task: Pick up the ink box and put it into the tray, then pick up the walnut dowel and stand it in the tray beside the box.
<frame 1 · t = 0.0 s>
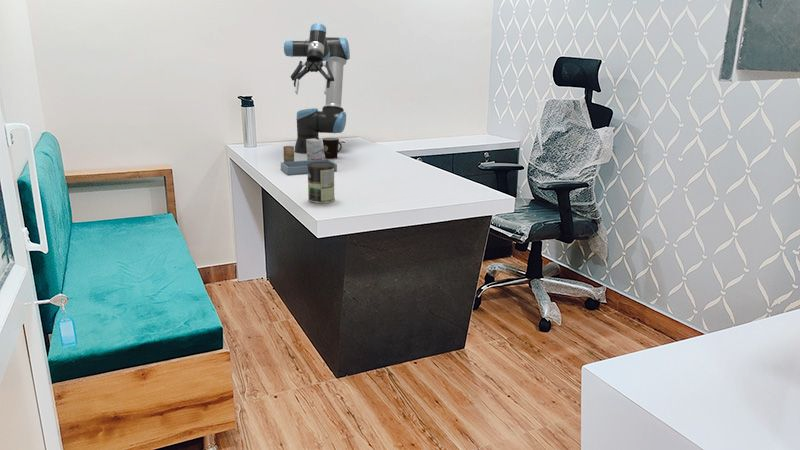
hand: (310, 93, 275), 36 cm above the table, tool tilted 35°, fingers open, 13 cm apart
coffee can: (321, 200, 231), on the table
coffee mug: (331, 158, 313), on the table
tray: (308, 170, 283), on the table
ink box: (314, 163, 301), on the table
walnut dowel: (289, 164, 296), on the table
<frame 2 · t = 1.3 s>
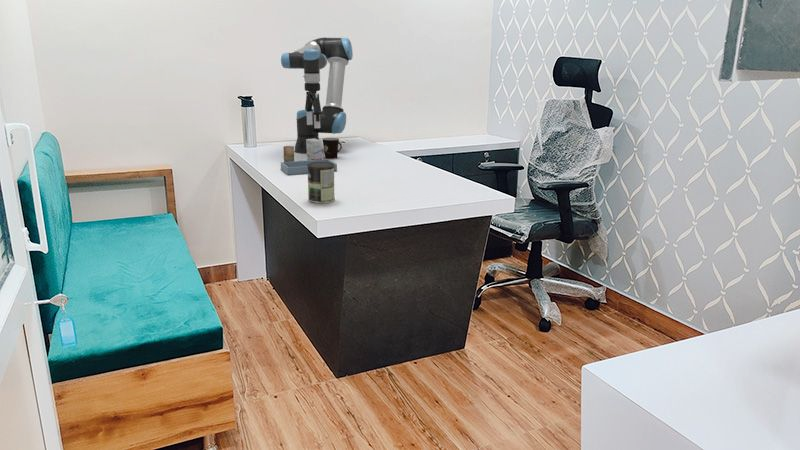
hand: (313, 126, 295), 18 cm above the table, tool pointing down, fingers open, 13 cm apart
nothing on the table moved.
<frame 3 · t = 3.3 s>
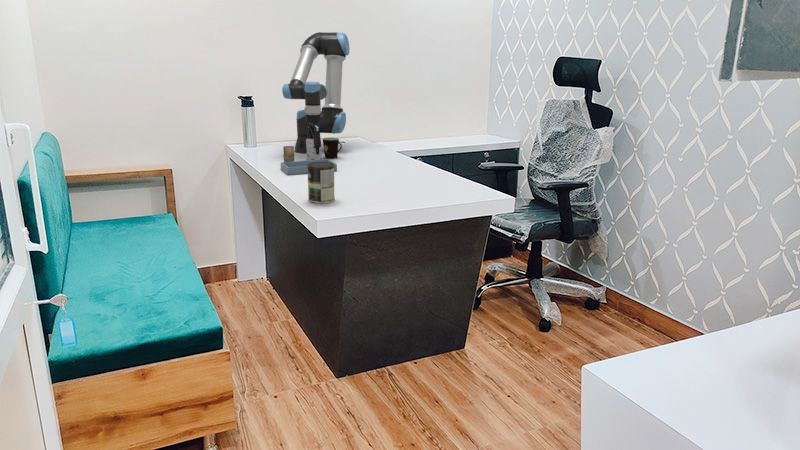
hand: (314, 158, 300), 2 cm above the table, tool pointing down, fingers closed on ink box, 9 cm apart
ink box: (314, 163, 301), on the table, touching gripper
everything else where it was.
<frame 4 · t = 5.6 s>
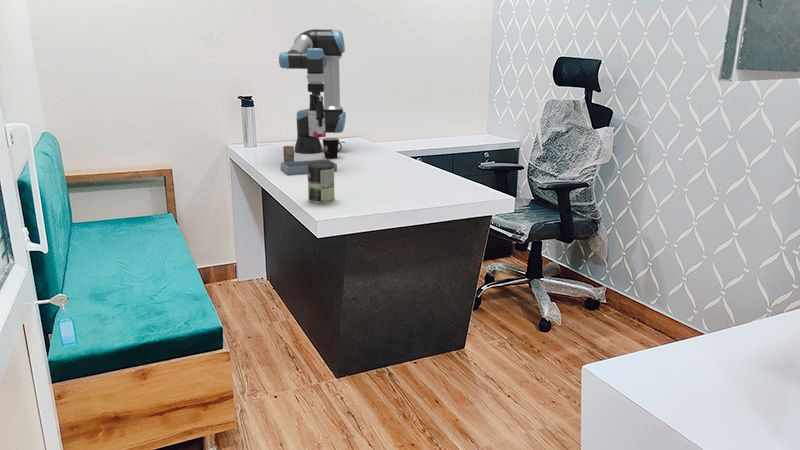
hand: (317, 132, 280), 18 cm above the table, tool pointing down, fingers closed on ink box, 9 cm apart
ink box: (317, 136, 280), point 16 cm above the table, touching gripper
everything else where it was.
when the fingers open (4 cm above the table, at t = 8.1 s): ink box drops 2 cm, resting on tray.
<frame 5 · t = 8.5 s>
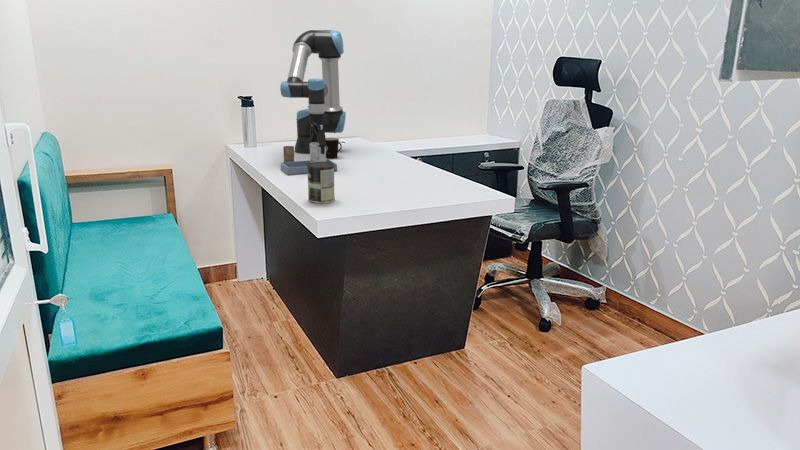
hand: (318, 158, 283), 6 cm above the table, tool pointing down, fingers open, 13 cm apart
ink box: (318, 168, 285), resting on tray
everything else where it was.
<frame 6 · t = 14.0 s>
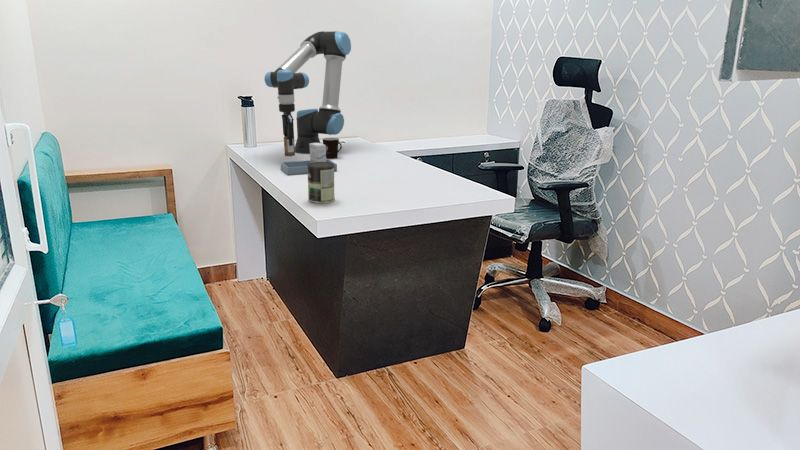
hand: (289, 150, 294), 7 cm above the table, tool pointing down, fingers closed on walnut dowel, 5 cm apart
walnut dowel: (289, 155, 295), point 5 cm above the table, touching gripper
everything else where it was.
when the fingers open (3 cm above the table, at t = 18.4 s): walnut dowel stays where it is, resting on tray.
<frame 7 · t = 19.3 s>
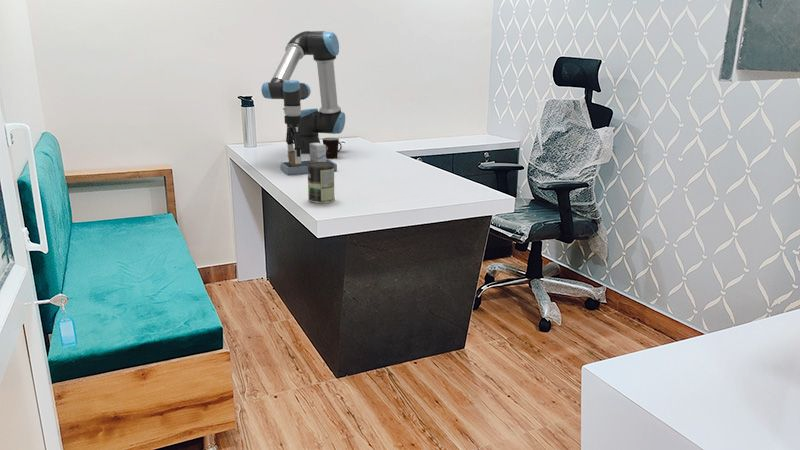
hand: (294, 160, 279), 5 cm above the table, tool pointing down, fingers open, 13 cm apart
walnut dowel: (294, 170, 280), point 1 cm above the table, touching tray
everything else where it was.
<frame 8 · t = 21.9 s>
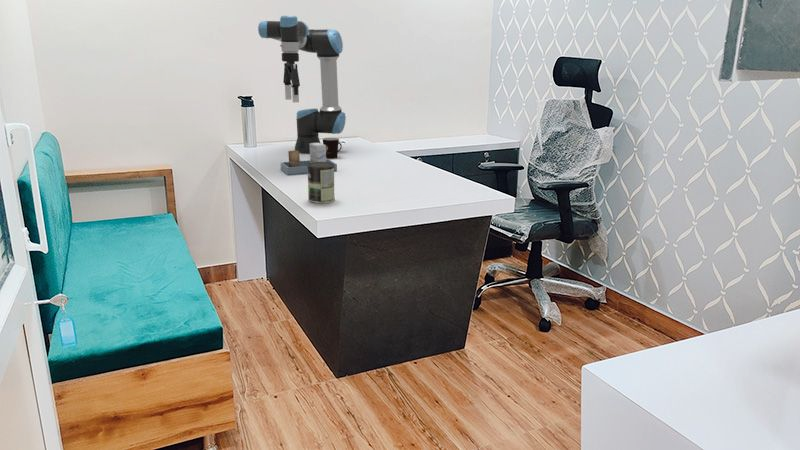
hand: (292, 101, 271), 33 cm above the table, tool pointing down, fingers open, 13 cm apart
nothing on the table moved.
at the end: ink box inside the target area on the tray (4.8 cm from its centre), point 0.4 cm above the tray's base; walnut dowel inside the target area on the tray (6.8 cm from its centre), point 0.6 cm above the tray's base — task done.
